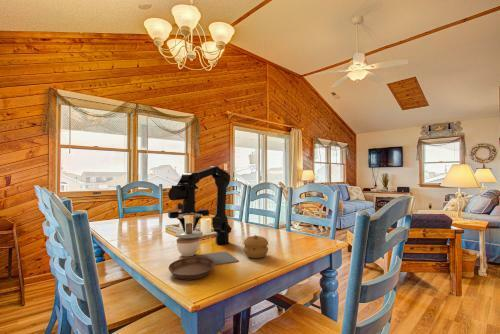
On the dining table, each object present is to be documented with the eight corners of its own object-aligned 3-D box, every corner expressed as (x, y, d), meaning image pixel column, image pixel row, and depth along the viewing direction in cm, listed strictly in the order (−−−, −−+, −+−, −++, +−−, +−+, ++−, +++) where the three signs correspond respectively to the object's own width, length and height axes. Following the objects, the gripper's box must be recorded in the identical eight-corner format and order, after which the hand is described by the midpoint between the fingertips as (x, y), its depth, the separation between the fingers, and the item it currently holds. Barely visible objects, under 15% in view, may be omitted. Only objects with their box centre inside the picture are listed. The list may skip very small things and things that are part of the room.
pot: (240, 254, 127) (240, 233, 127) (262, 251, 131) (262, 231, 131) (248, 262, 116) (248, 239, 116) (272, 259, 120) (272, 237, 120)
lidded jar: (194, 258, 119) (193, 237, 119) (172, 257, 121) (172, 237, 121) (203, 251, 129) (202, 232, 130) (183, 251, 132) (182, 232, 132)
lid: (198, 231, 134) (198, 220, 134) (206, 236, 123) (206, 225, 123) (172, 233, 128) (172, 222, 129) (177, 239, 117) (178, 227, 117)
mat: (226, 251, 131) (226, 251, 131) (238, 261, 116) (238, 260, 116) (194, 256, 123) (194, 255, 123) (203, 267, 109) (203, 266, 109)
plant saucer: (218, 278, 97) (217, 270, 97) (168, 285, 92) (168, 276, 92) (211, 262, 114) (211, 255, 114) (168, 266, 109) (168, 259, 109)
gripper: (203, 196, 137) (203, 226, 137) (166, 198, 129) (166, 229, 129) (209, 198, 127) (209, 230, 127) (170, 200, 119) (169, 234, 119)
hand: (188, 231), depth 126 cm, fingers open, 4 cm apart
